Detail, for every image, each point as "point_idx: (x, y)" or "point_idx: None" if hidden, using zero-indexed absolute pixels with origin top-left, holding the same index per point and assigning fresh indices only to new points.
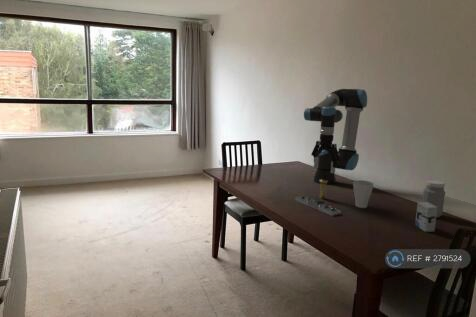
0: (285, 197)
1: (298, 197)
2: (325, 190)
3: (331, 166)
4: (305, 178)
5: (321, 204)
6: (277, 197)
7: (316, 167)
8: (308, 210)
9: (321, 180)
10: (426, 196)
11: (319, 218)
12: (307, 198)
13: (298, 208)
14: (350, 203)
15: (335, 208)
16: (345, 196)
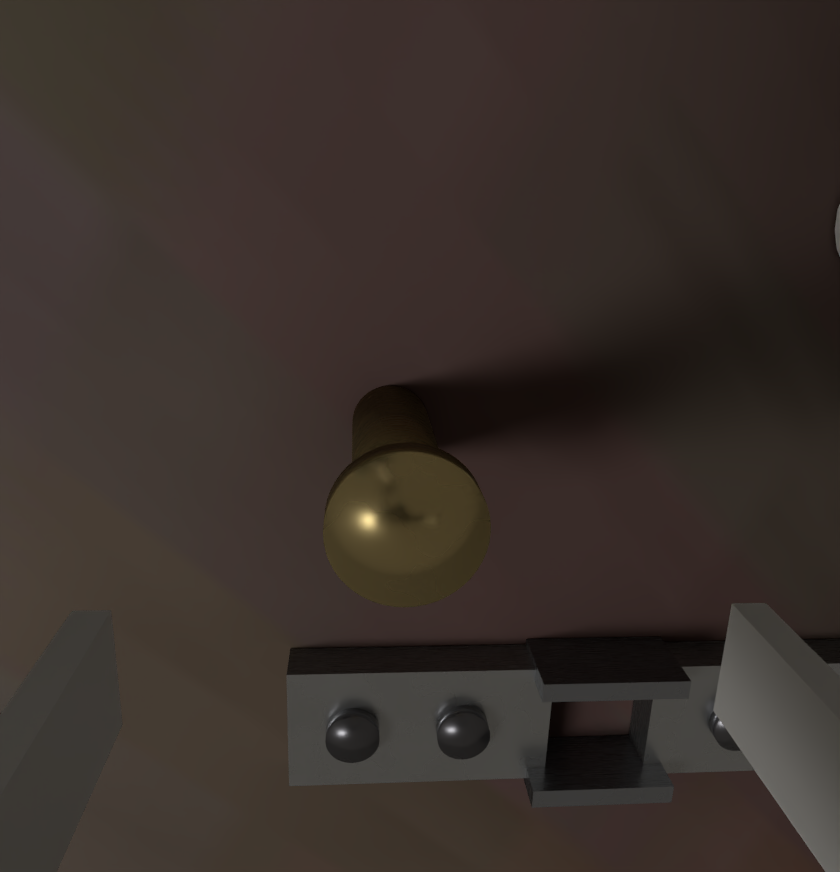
0: (151, 785)
1: (325, 768)
2: (433, 437)
3: (825, 848)
4: None
5: (657, 707)
6: (112, 856)
7: (111, 673)
8: (614, 824)
9: (403, 580)
10: None
11: (809, 863)
12: (446, 742)
13: (518, 867)
14: (751, 248)
15: (833, 668)
16: (507, 18)
